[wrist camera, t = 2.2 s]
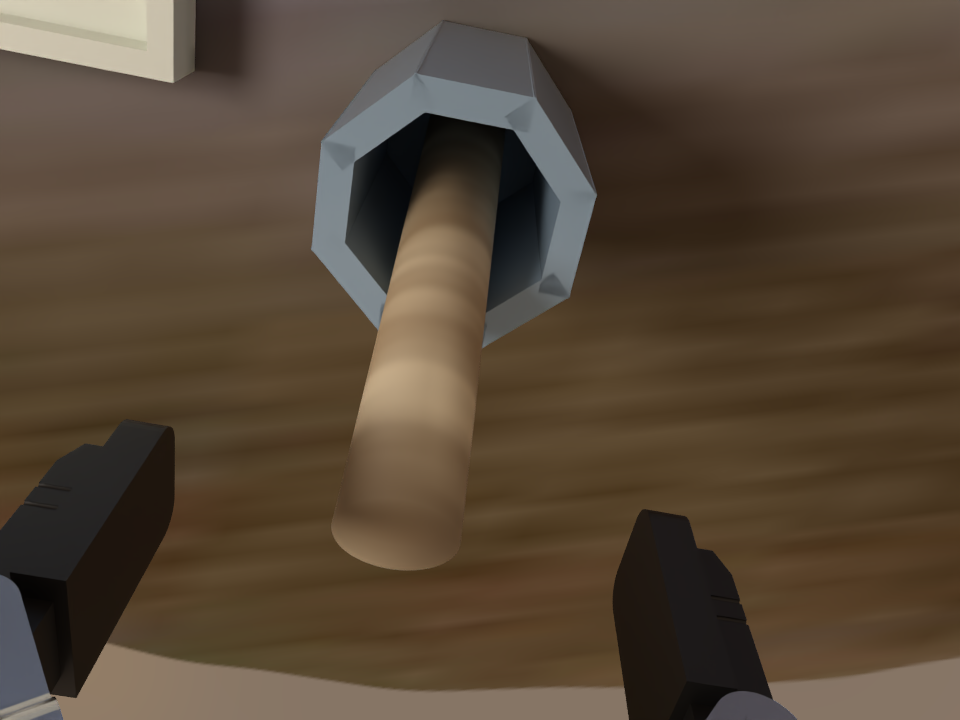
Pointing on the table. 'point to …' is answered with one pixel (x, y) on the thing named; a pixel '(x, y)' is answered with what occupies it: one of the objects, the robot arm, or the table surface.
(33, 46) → the tray
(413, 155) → the cup
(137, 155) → the table surface
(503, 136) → the pin
